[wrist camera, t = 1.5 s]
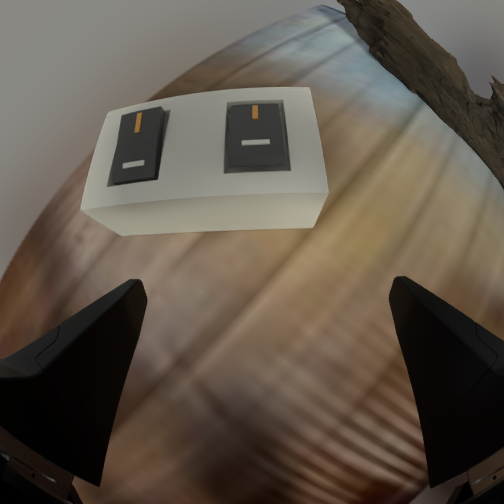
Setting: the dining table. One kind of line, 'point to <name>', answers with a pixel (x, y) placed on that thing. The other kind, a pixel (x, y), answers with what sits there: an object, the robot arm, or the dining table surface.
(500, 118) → the driftwood
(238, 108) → the rocker
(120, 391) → the robot arm
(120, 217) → the box
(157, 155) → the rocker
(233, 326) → the dining table surface
